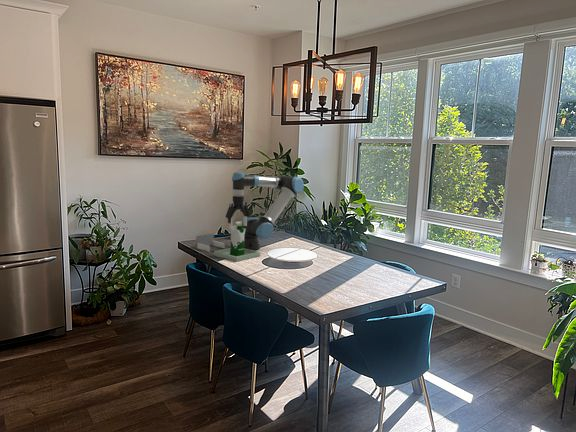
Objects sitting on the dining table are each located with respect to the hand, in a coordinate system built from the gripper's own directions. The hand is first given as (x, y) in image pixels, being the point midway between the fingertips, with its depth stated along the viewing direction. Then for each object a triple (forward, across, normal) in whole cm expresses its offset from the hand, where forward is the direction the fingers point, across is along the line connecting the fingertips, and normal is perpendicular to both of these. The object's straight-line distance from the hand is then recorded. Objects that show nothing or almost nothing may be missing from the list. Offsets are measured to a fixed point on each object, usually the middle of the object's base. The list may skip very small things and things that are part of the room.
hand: (237, 226), depth 284 cm
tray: (+20, 0, 0) cm, 20 cm away
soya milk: (+19, 0, 0) cm, 19 cm away
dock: (+20, -2, -29) cm, 35 cm away
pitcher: (+20, -42, -40) cm, 61 cm away
